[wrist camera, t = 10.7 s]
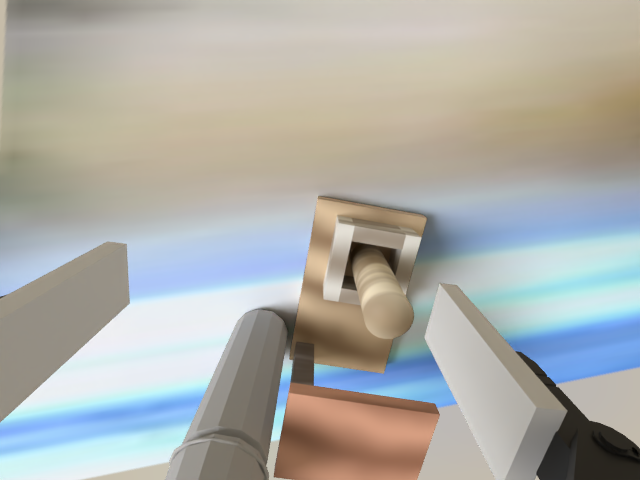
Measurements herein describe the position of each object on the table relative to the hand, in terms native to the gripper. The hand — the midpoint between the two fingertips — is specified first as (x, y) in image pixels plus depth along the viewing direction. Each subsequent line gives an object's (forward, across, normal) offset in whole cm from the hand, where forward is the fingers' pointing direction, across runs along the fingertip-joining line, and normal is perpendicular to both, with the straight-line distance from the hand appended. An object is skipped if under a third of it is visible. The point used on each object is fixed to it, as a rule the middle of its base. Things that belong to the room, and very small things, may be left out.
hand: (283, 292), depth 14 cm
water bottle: (+27, -4, -21) cm, 34 cm away
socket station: (+27, +8, -12) cm, 30 cm away
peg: (+25, +8, -7) cm, 27 cm away
